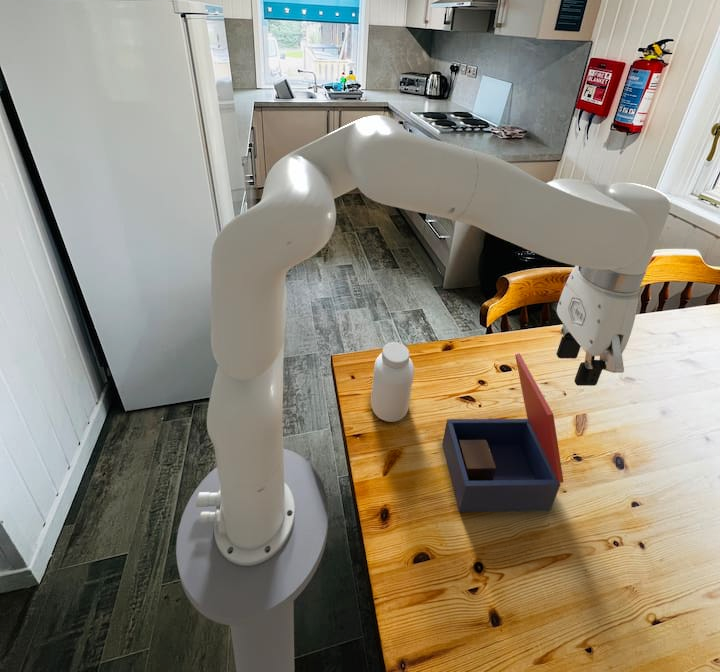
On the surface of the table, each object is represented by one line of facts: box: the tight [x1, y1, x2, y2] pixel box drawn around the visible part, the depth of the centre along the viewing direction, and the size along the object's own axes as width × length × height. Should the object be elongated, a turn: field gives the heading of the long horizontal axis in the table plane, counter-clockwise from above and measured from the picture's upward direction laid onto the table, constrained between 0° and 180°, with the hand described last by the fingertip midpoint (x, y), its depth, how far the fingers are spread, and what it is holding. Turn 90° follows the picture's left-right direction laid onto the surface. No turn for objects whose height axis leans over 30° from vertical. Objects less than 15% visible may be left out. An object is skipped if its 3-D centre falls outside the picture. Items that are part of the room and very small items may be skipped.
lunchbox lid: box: [514, 353, 565, 484], centre depth 65 cm, size 16×12×1 cm
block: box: [458, 440, 496, 481], centre depth 69 cm, size 5×5×5 cm
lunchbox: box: [442, 418, 561, 513], centre depth 69 cm, size 16×12×7 cm
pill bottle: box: [370, 341, 415, 423], centre depth 80 cm, size 8×8×15 cm
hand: (575, 369), depth 61 cm, fingers open, 4 cm apart
